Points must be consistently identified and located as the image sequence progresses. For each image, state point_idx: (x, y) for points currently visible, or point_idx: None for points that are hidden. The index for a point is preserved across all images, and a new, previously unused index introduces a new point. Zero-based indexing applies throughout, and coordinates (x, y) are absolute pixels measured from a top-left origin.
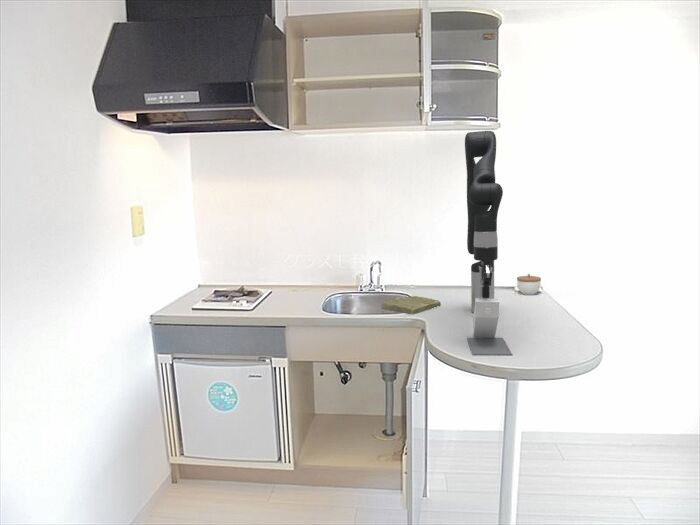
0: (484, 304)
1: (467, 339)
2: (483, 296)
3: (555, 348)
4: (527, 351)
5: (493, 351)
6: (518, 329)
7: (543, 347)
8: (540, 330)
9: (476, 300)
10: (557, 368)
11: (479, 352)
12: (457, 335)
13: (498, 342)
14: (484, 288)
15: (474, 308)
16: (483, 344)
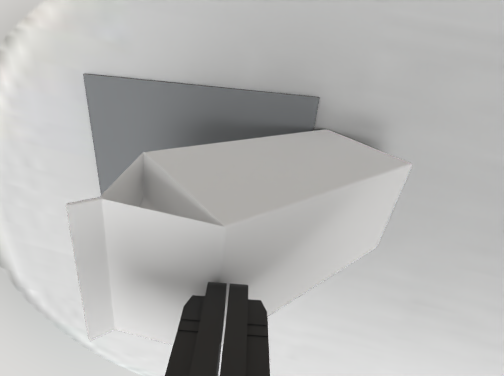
0: (108, 247)
1: (295, 95)
2: (208, 293)
3: None
4: None
5: (128, 161)
6: (391, 294)
7: None
8: (360, 339)
9: (160, 217)
10: (11, 280)
11: (110, 107)
12: (380, 61)
13: None
14: (166, 374)
15: (325, 184)
16: None
